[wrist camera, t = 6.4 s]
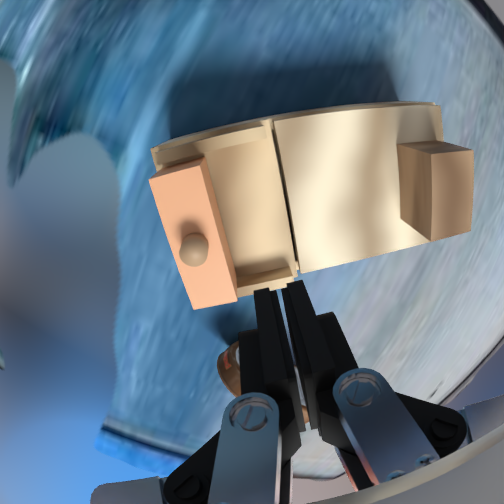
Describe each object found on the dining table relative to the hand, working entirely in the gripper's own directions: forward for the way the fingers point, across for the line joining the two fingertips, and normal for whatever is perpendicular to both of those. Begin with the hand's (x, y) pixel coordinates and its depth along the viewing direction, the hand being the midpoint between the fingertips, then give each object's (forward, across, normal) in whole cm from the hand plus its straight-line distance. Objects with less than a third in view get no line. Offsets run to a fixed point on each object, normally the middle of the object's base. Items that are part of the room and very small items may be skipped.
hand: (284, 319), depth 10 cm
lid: (+13, -9, 0) cm, 16 cm away
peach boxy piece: (+12, +4, 0) cm, 12 cm away
